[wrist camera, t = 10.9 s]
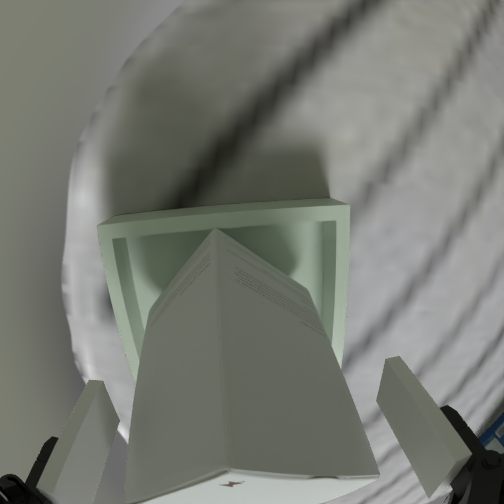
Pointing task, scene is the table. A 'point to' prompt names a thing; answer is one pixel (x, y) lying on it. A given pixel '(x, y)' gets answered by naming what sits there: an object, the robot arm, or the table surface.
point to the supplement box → (241, 392)
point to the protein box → (494, 436)
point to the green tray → (244, 232)
